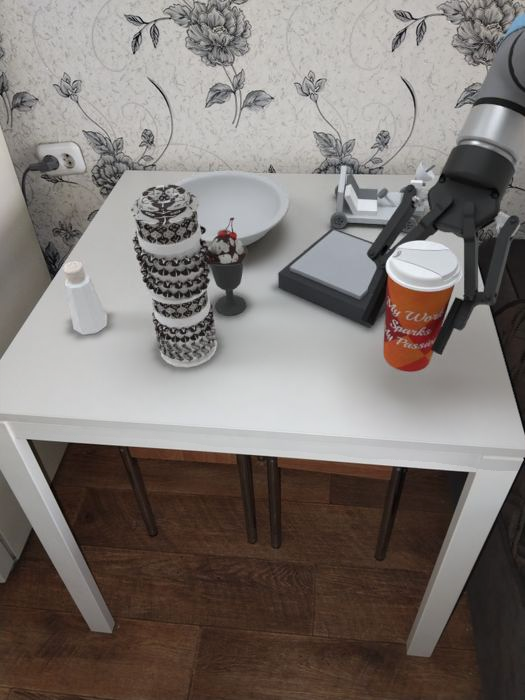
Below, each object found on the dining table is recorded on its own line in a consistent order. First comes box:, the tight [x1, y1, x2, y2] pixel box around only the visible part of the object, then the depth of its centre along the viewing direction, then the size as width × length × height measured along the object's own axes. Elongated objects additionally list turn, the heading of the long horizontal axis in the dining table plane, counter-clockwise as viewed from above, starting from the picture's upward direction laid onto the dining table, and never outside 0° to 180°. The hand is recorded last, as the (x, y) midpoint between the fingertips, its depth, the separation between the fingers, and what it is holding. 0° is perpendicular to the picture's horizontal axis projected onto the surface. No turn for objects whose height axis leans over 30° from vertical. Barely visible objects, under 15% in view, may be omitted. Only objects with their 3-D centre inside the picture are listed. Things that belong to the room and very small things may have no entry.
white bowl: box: [171, 169, 290, 248], centre depth 106 cm, size 24×24×7 cm
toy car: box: [329, 160, 436, 234], centre depth 108 cm, size 18×10×12 cm
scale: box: [277, 227, 392, 328], centre depth 96 cm, size 17×16×4 cm
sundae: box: [206, 218, 249, 316], centre depth 88 cm, size 7×7×15 cm
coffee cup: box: [382, 240, 464, 373], centre depth 70 cm, size 8×8×15 cm
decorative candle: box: [130, 183, 218, 368], centre depth 78 cm, size 9×9×25 cm
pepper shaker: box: [62, 260, 108, 336], centre depth 88 cm, size 5×5×11 cm
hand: (400, 336), depth 70 cm, fingers closed on coffee cup, 8 cm apart
